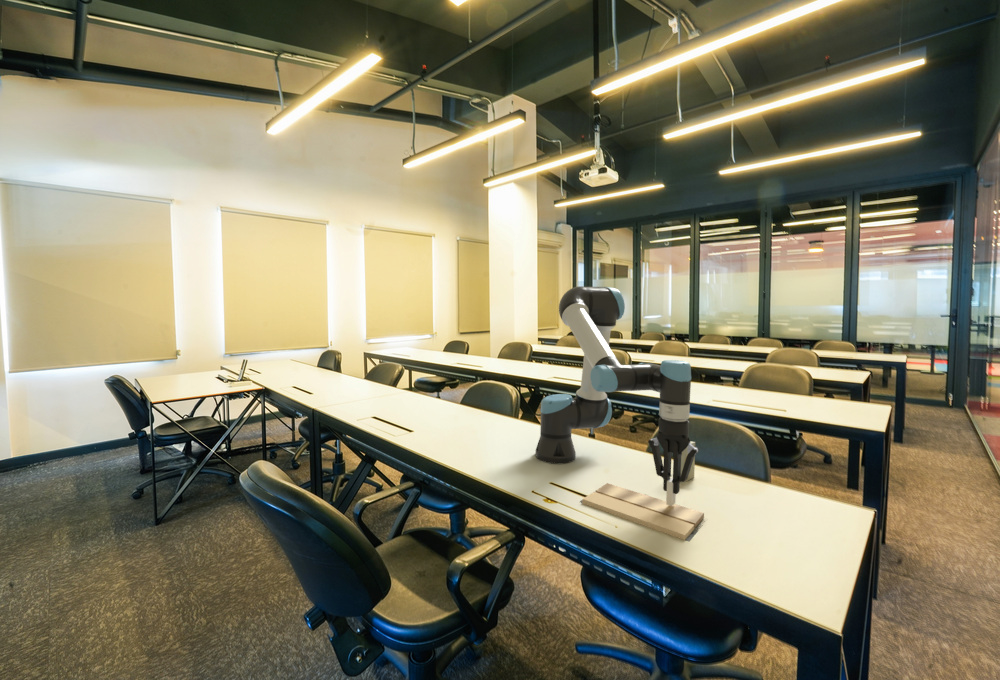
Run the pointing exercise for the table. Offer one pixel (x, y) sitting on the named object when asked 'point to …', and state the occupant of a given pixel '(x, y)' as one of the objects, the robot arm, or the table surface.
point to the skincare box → (683, 459)
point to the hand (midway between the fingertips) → (670, 503)
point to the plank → (652, 504)
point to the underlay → (641, 515)
